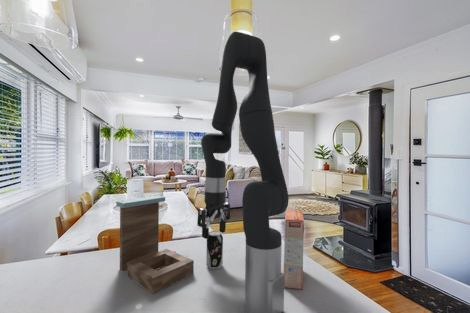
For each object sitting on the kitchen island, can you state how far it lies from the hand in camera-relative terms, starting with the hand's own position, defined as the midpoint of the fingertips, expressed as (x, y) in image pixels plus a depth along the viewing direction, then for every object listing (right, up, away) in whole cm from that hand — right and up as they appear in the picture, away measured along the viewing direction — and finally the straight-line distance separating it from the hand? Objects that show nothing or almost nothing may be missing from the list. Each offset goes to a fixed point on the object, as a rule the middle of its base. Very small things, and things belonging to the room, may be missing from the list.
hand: (214, 234), depth 86 cm
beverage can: (0, -11, 0) cm, 11 cm away
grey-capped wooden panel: (-27, -11, +1) cm, 29 cm away
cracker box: (+26, -12, -7) cm, 30 cm away
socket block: (-17, -11, -7) cm, 21 cm away
